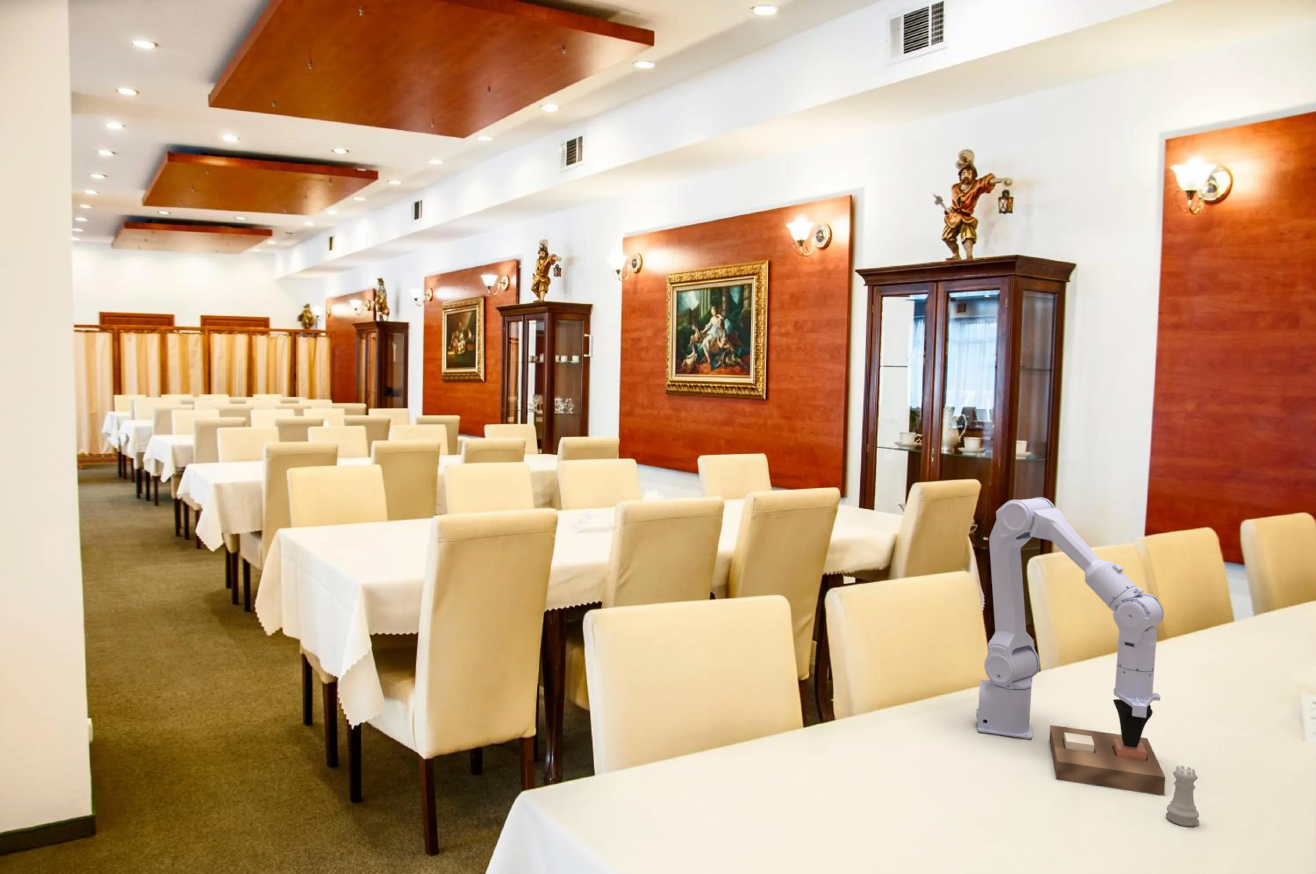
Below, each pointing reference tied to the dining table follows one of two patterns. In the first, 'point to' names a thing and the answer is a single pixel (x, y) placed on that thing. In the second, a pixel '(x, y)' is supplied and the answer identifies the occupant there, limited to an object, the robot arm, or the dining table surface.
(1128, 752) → the terracotta key
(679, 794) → the dining table surface
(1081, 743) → the ivory key
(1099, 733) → the key panel
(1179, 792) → the rook chess piece
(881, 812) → the dining table surface
